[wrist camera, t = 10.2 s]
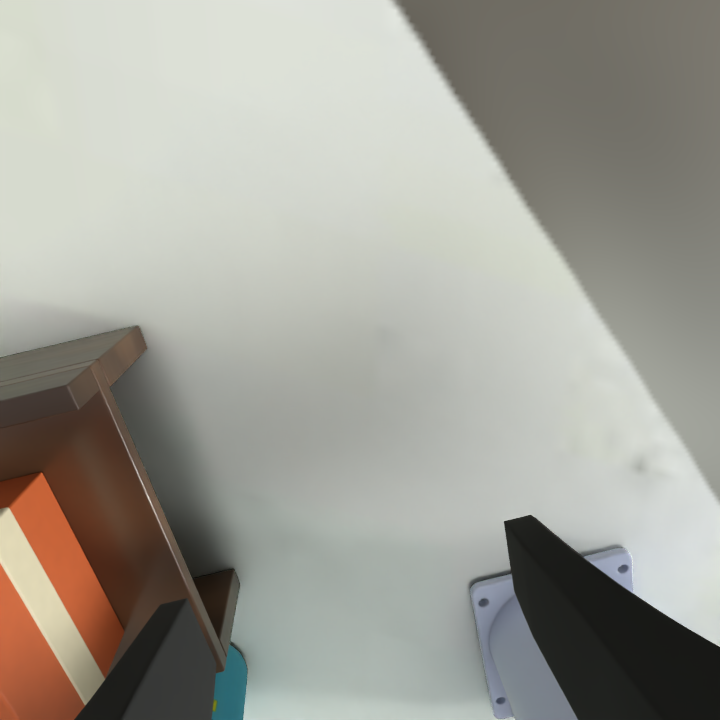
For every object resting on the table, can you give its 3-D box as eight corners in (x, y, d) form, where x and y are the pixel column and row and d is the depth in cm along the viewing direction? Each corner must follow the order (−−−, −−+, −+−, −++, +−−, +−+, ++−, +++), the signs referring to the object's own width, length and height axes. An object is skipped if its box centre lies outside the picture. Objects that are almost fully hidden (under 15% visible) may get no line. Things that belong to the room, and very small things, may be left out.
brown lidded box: (240, 584, 24) (218, 710, 18) (52, 629, 24) (-29, 770, 18) (138, 324, 19) (67, 384, 14) (-93, 379, 19) (-263, 462, 14)
